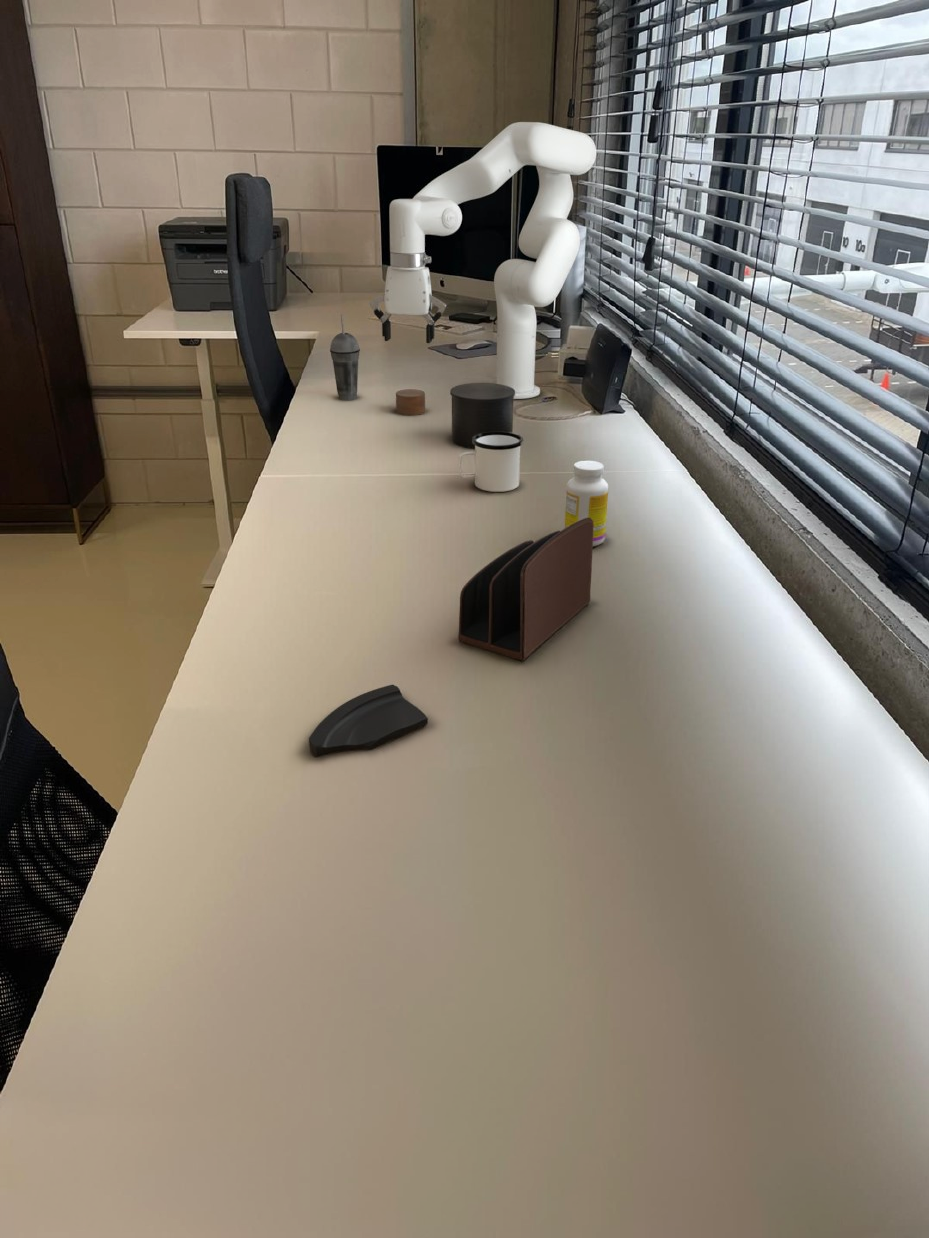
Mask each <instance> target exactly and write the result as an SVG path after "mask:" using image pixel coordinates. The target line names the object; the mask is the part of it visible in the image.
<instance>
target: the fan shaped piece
mask: <svg viewBox="0 0 929 1238" xmlns="http://www.w3.org/2000/svg"><path fill="white" fill-rule="evenodd" d="M428 720H429V719H428V717H427V715H426V714H425V713H424V712H423V711H422V710H421V709H419V708H418V706H416V705H414V704H413V703H412V702H411V701H409V700H407V699H405V697H404V696H403V693H402V692H401V689H400V688H399V687H398V686H397V685H395V684H389V685H385V686H382V687H378V688H376V689H375V688H374V689H372V690H369V691H367V692H363V693H362V694H359V695H358V696H355V697H353V698H351V699H349V700H347V701H346V702H344V703H342V704H341V705H339V706H338V707H337V708H336V709H334V710H332V711H331V712H330V713H329V714H327V716H326V717H324V719H322V720H321V722H319V723H318V725H317V726H316V727H315V728H314V729H313V731H312V733H311V734H310V736H309V738H308V743H309V745H308V746H309V751H310V753H311V754H312V755H313V756H314V757H315V758H316V757H317V758H318V757H321V756H325V755H331V754H334V753H340V752H347V751H359V750H361V751H362V750H366V751H368V750H372V749H374V748H378V747H379V746H382V745H384V744H387V743H389V742H391V741H394V740H395V739H398V738H400V737H402V736H404V735H407V734H409V733H411V732H413V731H415V730H418V729H420V728H422V727H426V726H427V725H428Z"/></svg>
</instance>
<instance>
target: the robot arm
mask: <svg viewBox="0 0 929 1238" xmlns="http://www.w3.org/2000/svg"><path fill="white" fill-rule="evenodd" d="M596 159H597V147H596V144H595V141H594V140H593V139H592V137H590V136H589V135H588V134H586V133H584V132H581V131H576V130H572V129H569V128H564V127H561V126H557V125H553V124H550V123H544V122H537V121H519V122H513V123H511V124H509V125H507V126H506V127H505V128H504V129H503V130H501V131H500V132H499V133H498V134H497V135H496V136H494V138H493V139H491V140H490V141H489V142H488V143H487V144H485V145H484V146H483V147H482V148H481V149H480V150H479V151H478V152H476V154H474V155H473V156H471V158H470V159H468V160H466V161H463V162H462V163H460V164H458V165H456V166H455V167H453V168H451V169H449V170H448V171H446V172H444V173H442V174H441V175H439V176H437V177H436V178H434V179H433V180H431V181H430V182H429V183H427V185H425V186H424V187H423V188H421V190H420V191H419V192H417V193H416V194H415V195H414V196H413V198H398V199H393V200H392V201H391V202H390V203H389V211H388V212H389V258H390V259H389V261H390V263H389V264H390V265H389V266H388V267H387V269H386V270H387V271H386V274H385V275H386V276H385V283H384V284H385V285H384V293H383V294H382V295H380V296H377V297H376V298H373V299H372V300H370V301H369V305H370V307H371V309H372V311H373V314H374V315H375V316H376V317H377V318H378V320H379V321H380V323H381V334H382V338H384V342H389V341H390V340H391V339H392V334H391V333H392V327H391V326H392V325H391V321H390V318H391V317H392V315H393V316H408V317H410V316H411V317H423V318H424V320H425V321H426V322H427V324H426V326H425V342H426V343H427V344H431V343H432V341H433V340H435V324H436V322H437V321H439V320H440V318H441V317H443V314H444V313H445V311H446V309H447V305H448V304H446V303H445V302H444V301H442V300H440V299H439V298H437V297H435V296H433V295H432V281H431V275H430V269H429V267H428V266H426V265H427V264H431V263H432V256H429V255H427V254H426V252H425V251H426V250H425V247H426V242H425V241H426V239H425V238H426V235H431V236H440V237H446V236H450V235H453V234H455V233H456V232H457V231H458V230H459V229H460V227H461V224H462V221H463V214H462V210H461V208H460V206H459V205H460V204H462V203H465V202H468V201H471V200H476V199H481V198H483V197H486V196H489V195H491V194H493V193H495V192H496V191H497V190H498V189H500V187H502V186H503V185H504V184H505V183H506V182H507V181H508V180H509V179H510V178H512V177H513V176H514V174H516V173H517V172H519V171H520V170H521V169H522V168H523V167H524V166H535V167H536V170H537V175H538V180H539V181H538V182H539V185H538V191H537V195H536V197H535V200H534V203H533V204H532V207H531V209H530V211H529V213H528V215H527V218H526V220H525V222H524V224H523V226H522V229H521V231H520V233H519V237H518V248H519V250H520V252H521V253H522V254H523V255H525V256H527V257H529V258H532V259H536V261H532V260H527V259H522V258H511V259H507V260H505V261H503V262H502V263H501V264H500V265H499V266H498V267H497V268H496V271H495V273H494V276H493V277H494V279H493V289H494V294H495V301H496V302H495V303H496V312H497V313H496V314H497V315H496V317H497V319H496V320H497V321H496V322H497V323H496V324H497V325H496V366H495V367H496V368H495V369H496V371H495V372H496V374H495V375H496V376H495V384H501V385H506V386H509V387H511V388H513V389H514V390H515V395H514V400H524V399H525V400H526V399H531V398H535V397H537V396H539V395H540V394H541V388H540V387H539V386H537V385H536V384H535V371H536V370H535V369H536V344H537V343H536V342H537V314H536V313H537V312H536V309H535V307H537V308H543V307H544V308H545V307H547V306H549V305H552V303H553V302H554V301H555V300H556V298H557V297H558V295H559V294H560V292H561V290H562V288H563V286H564V284H565V282H566V280H567V278H568V276H569V274H570V271H571V269H572V267H573V265H574V263H575V261H576V259H577V256H578V253H579V249H580V245H581V235H580V231H579V228H578V227H577V225H576V223H574V222H573V221H572V220H570V219H568V217H569V214H570V211H571V209H572V206H573V204H574V203H573V202H574V188H573V182H572V178H571V175H573V176H580V175H583V174H586V173H587V172H589V170H591V169H592V168H593V166H594V165H595V162H596ZM381 303H384V310H385V312H383V311H382V310H381V309H380V307H379V304H381ZM433 305H434V306H435V307H437V308H438V309H437V311H436V313H435V314H434V315H433V313H432V309H433Z"/></svg>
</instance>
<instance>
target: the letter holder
mask: <svg viewBox="0 0 929 1238" xmlns="http://www.w3.org/2000/svg"><path fill="white" fill-rule="evenodd" d="M593 528H594V524H593V520H592V519H591V518H589V517H588V518H584V519H582V520H579V521H577V522H575V523H573V524H572V525H570V526H568V527H566V528H565V527H564V528H563V529H561V530H556V531H554V532H550V533H548V534H547V535H545V536H543V537H541V538H539V539H536V540H535V541H534V540H532V539H530V540H525V541H523V542H521V543H519V544H516V545H515V546H514V547H512V548H509V550H507V551H505V552H503V553H502V554H500V555H499V556H498V557H496V558H494V559H493V560H492V561H491V562H489V563H488V564H487V565H485V566H484V567H483V568H481V569H480V570H479V571H478V572H477V573H475V574H474V575H473V576H472V577H471V578H470V579H469V580H468V581H467V582H466V583H465V585H463V587H462V588H461V591H460V596H459V612H458V638H457V639H458V642H461V643H463V644H467V645H470V646H473V647H475V648H479V649H483V650H486V651H489V652H492V653H496V654H499V655H502V656H506V657H508V658H511V659H515V660H518V661H522V662H523V661H525V660H526V659H528V657H529V656H530V655H531V654H532V653H534V652H535V651H536V650H537V649H538V648H539V647H540V646H542V644H543V643H545V642H546V641H547V640H549V638H550V637H552V636H553V635H554V634H555V633H556V632H558V631H559V630H560V629H561V628H562V627H563V626H564V625H566V624H567V623H568V622H569V621H571V619H572V618H574V617H575V616H576V615H577V614H578V613H579V612H580V611H582V610H583V609H584V608H585V607H586V606H588V605H589V603H591V587H592V574H593V573H592V572H593V571H592V567H593V553H594V546H593Z"/></svg>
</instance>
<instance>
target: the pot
mask: <svg viewBox="0 0 929 1238" xmlns="http://www.w3.org/2000/svg"><path fill="white" fill-rule="evenodd" d="M449 391H450V392H449V393H450V394H449V395H450V396H451V442H452V443H453V444H454V445H456V446H459V447H462V448H466V449H473V450H475V445H474V444H473V443H472V438H473V437H474V436H475V435H477V434H479V433H483V432H490V431H504V432H511V433H514V432H513V431H514V430H513V429H514V400H515V399H514V395H515V390H514V389H513V388H511V387H509V386H506V385H501V384H496V382H495V383H493V382H470V383H464V384H459V385H455V386H454V387H452V388H450V390H449Z"/></svg>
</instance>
